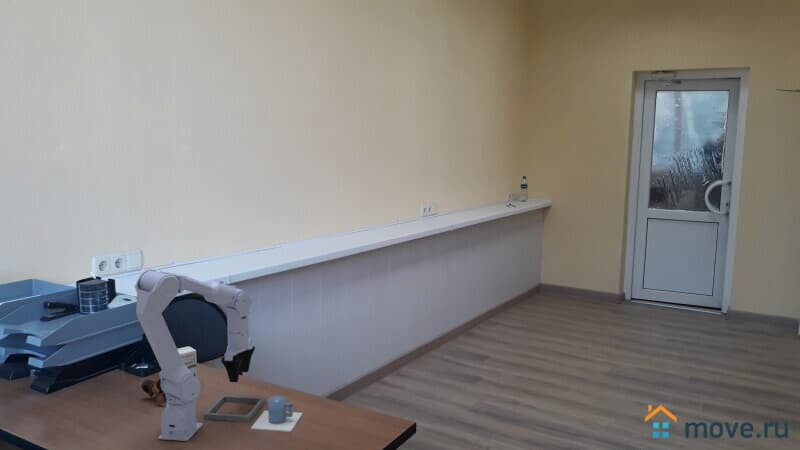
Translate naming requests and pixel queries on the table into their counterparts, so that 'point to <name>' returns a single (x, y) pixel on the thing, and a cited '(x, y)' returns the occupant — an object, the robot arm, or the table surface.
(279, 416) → the blue-grey mug
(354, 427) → the table surface
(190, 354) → the ink box
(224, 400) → the grey square frame
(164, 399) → the brown animal figurine
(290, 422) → the mat
